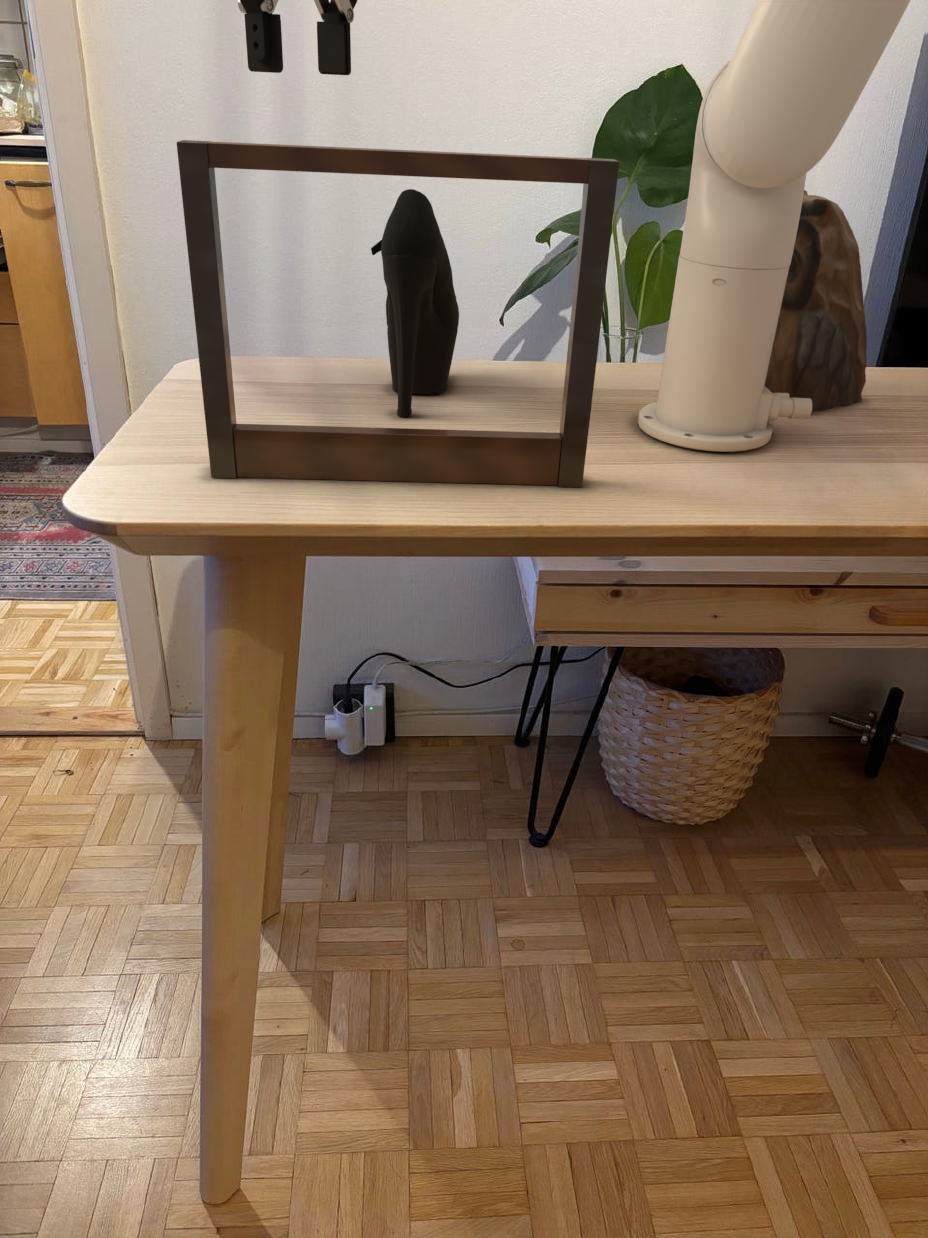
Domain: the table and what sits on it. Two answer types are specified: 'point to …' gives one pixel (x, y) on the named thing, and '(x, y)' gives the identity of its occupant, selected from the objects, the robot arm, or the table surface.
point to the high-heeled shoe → (417, 300)
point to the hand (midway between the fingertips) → (301, 73)
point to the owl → (821, 313)
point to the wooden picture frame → (393, 448)
